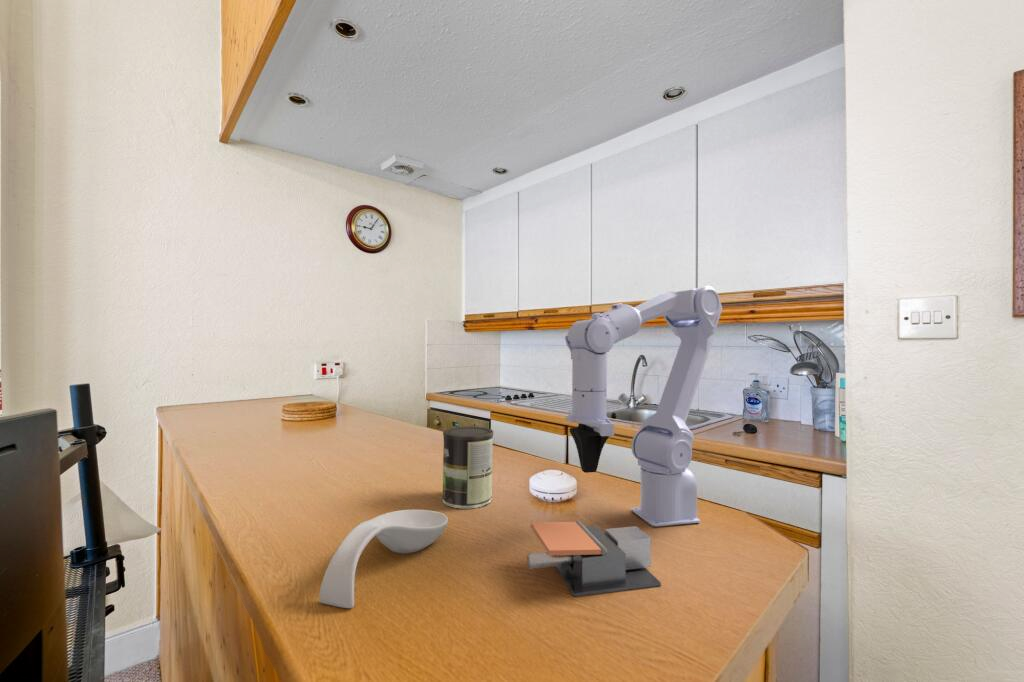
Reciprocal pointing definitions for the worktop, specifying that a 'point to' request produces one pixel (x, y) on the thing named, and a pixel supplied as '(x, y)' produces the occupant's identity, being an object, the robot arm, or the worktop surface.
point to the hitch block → (604, 571)
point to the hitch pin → (625, 538)
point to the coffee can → (467, 467)
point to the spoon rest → (393, 531)
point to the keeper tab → (567, 538)
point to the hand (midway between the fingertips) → (589, 471)
